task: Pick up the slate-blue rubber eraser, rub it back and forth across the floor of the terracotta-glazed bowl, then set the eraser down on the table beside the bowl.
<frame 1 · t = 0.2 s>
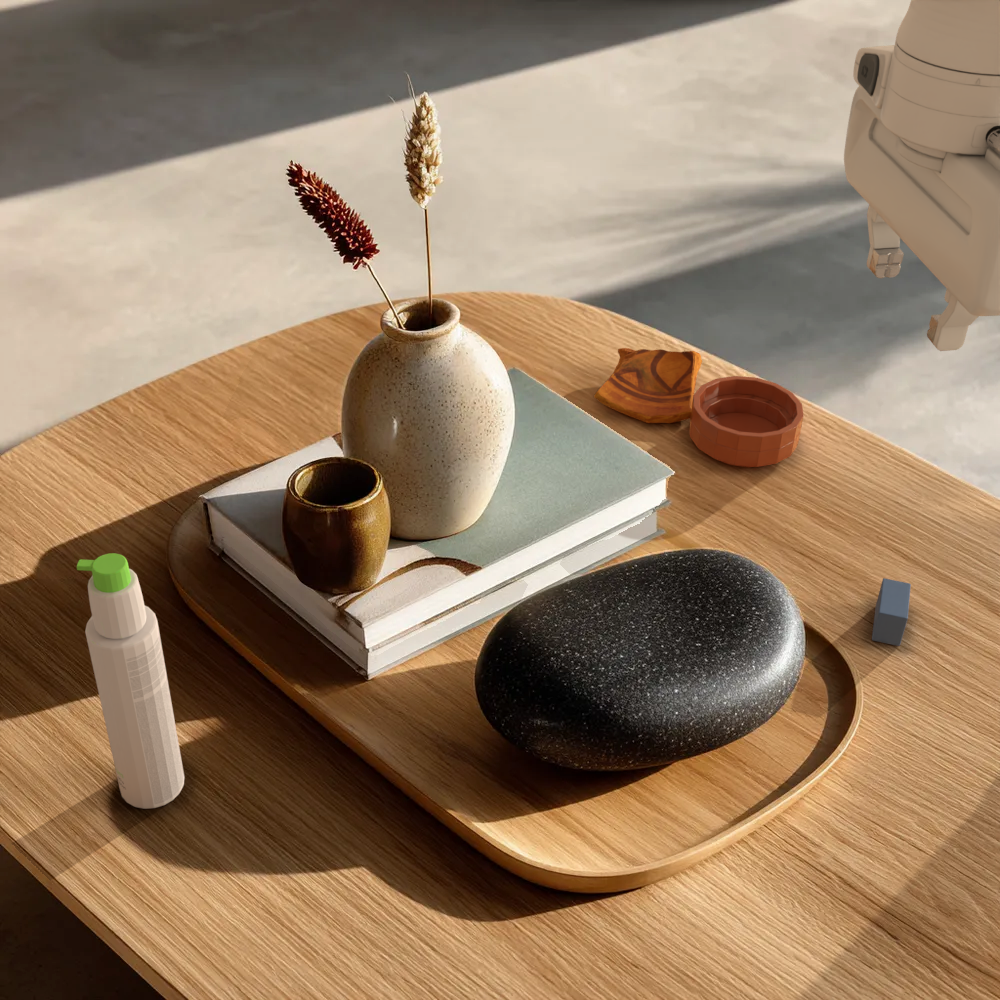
hand: (911, 307, 86), 30 cm above the table, tool pointing down, fingers open, 8 cm apart
pottery fragment: (646, 398, 133), on the table
bottle: (152, 786, 92), on the table
bowl: (742, 440, 127), on the table
eraser: (887, 625, 107), on the table
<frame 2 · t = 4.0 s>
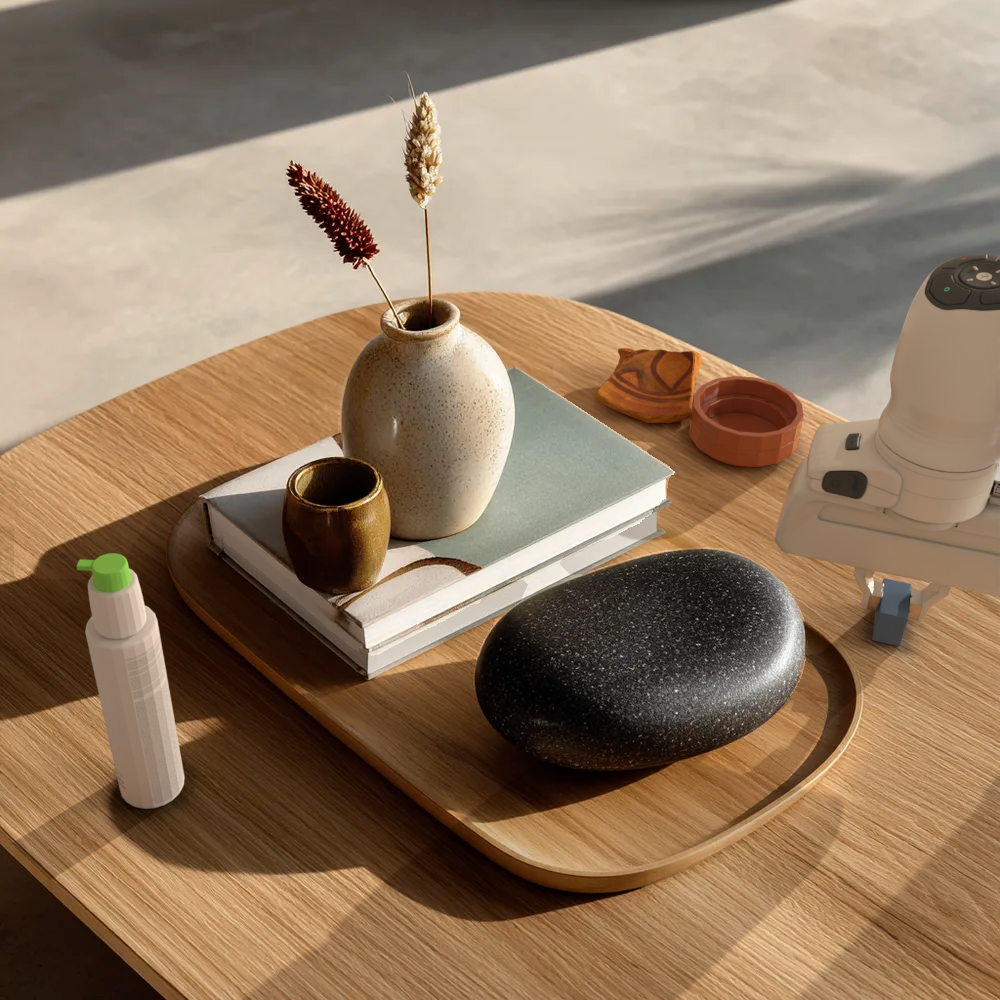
hand: (891, 609, 106), 2 cm above the table, tool pointing down, fingers closed on eraser, 2 cm apart
eraser: (887, 625, 107), on the table, touching gripper
everything else where it was.
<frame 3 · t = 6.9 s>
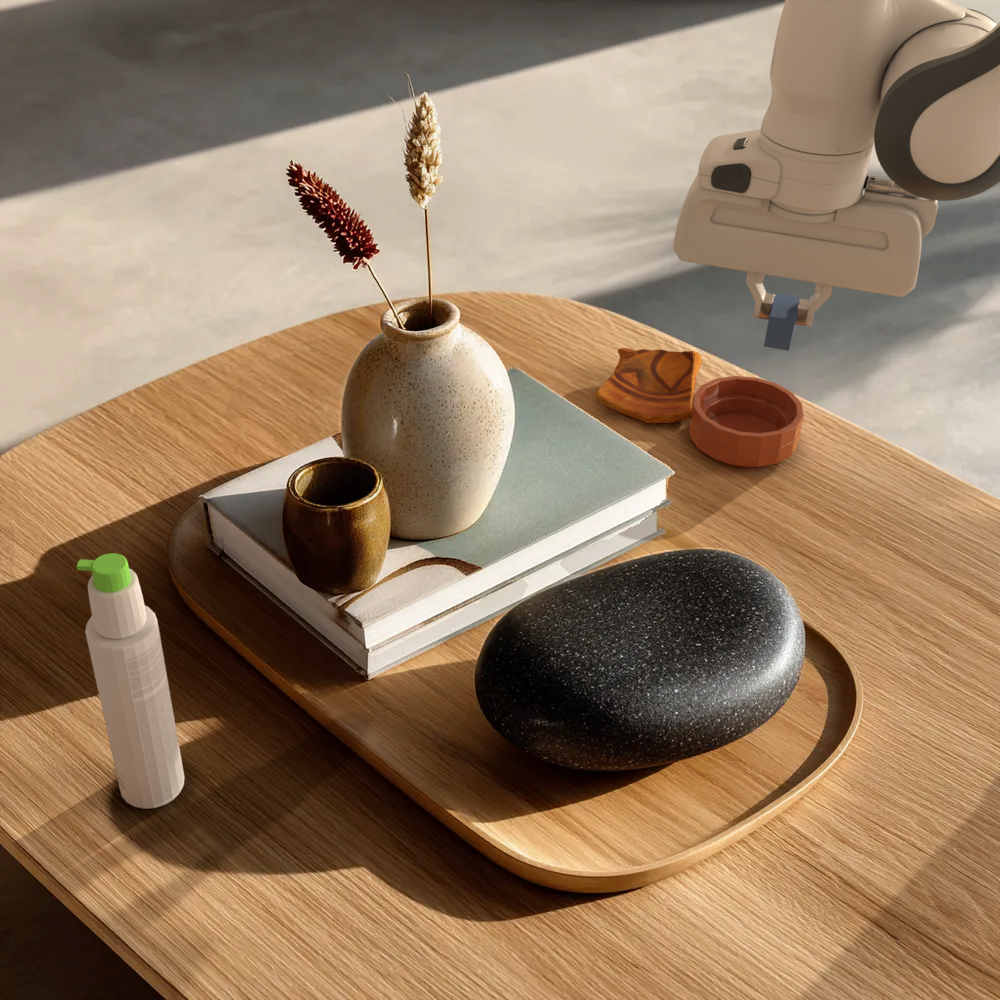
hand: (782, 319, 115), 15 cm above the table, tool pointing down, fingers closed on eraser, 2 cm apart
eraser: (779, 336, 116), point 14 cm above the table, touching gripper
everything else where it was.
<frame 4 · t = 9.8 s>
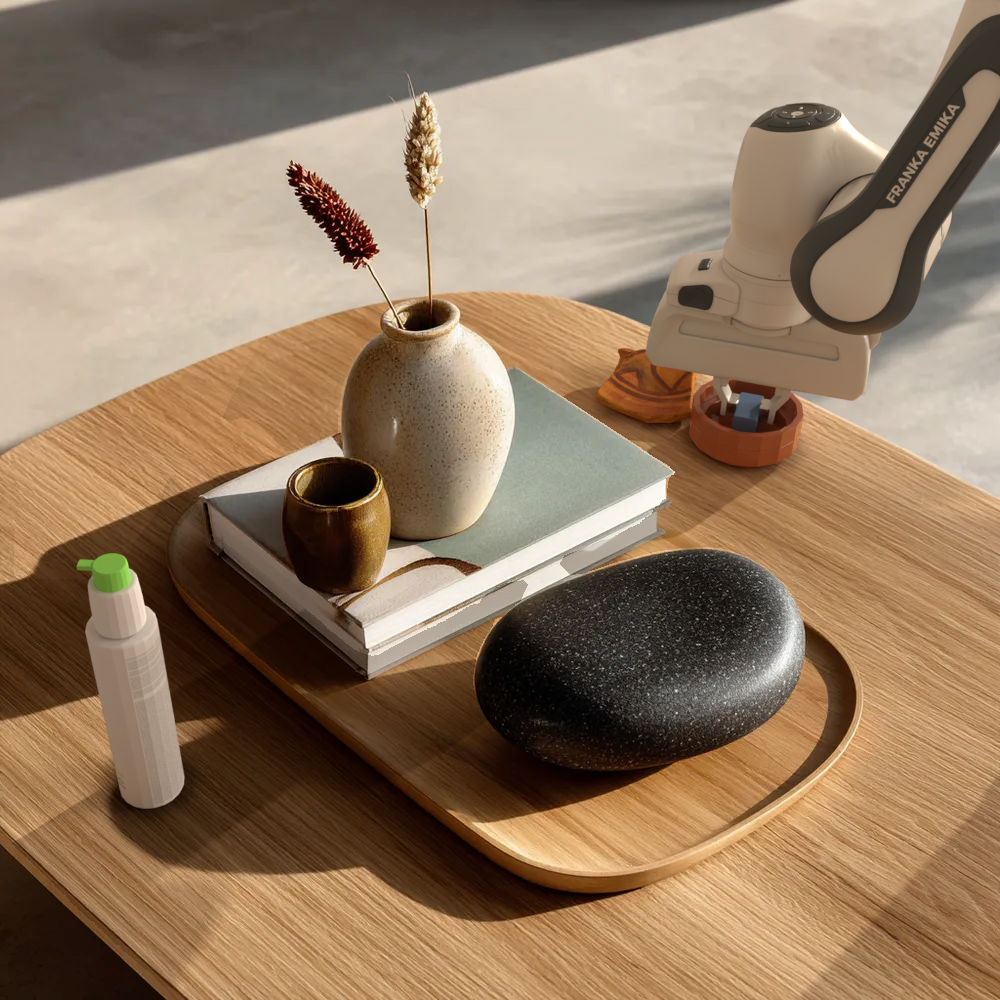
hand: (746, 416, 126), 2 cm above the table, tool pointing down, fingers closed on eraser, 2 cm apart
eraser: (744, 431, 127), point 1 cm above the table, touching gripper
everything else where it was.
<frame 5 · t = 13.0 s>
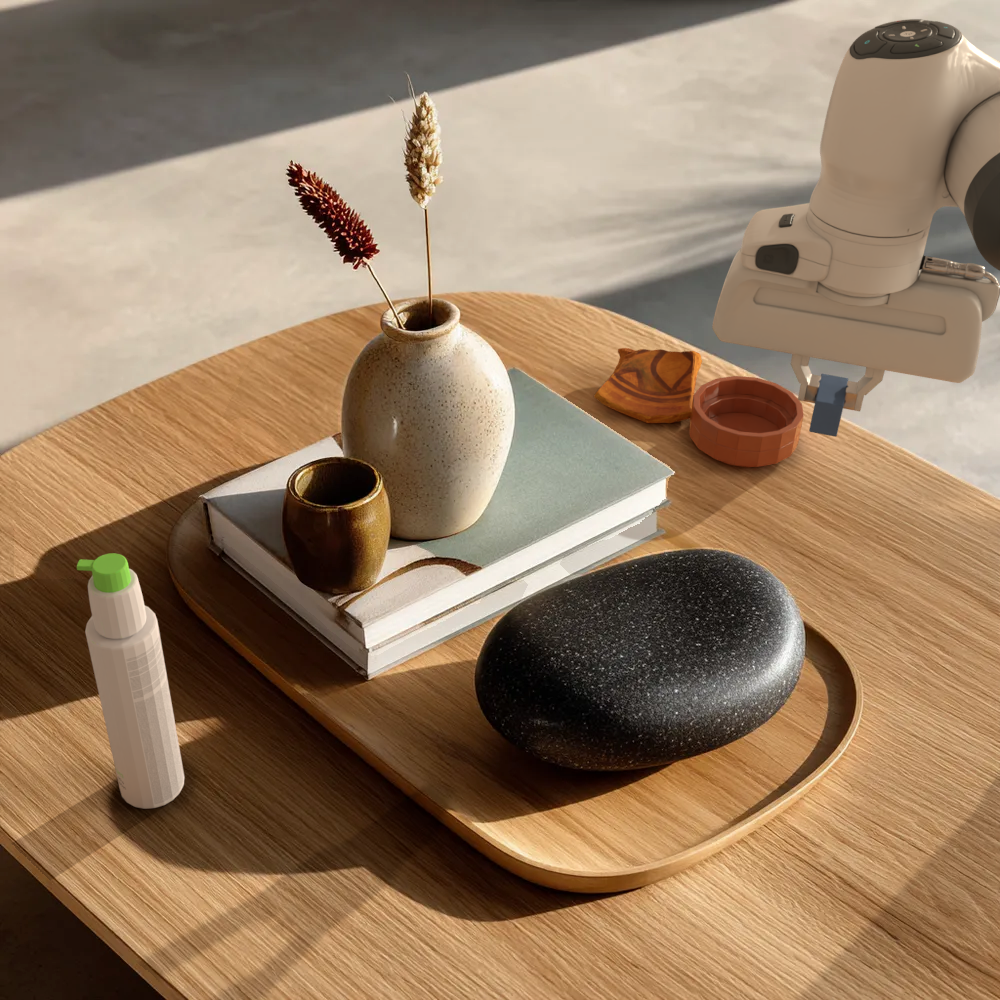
hand: (829, 402, 108), 14 cm above the table, tool pointing down, fingers closed on eraser, 2 cm apart
eraser: (825, 420, 109), point 12 cm above the table, touching gripper
everything else where it was.
when the fingers open (2 cm above the table, at t = 15.9 s): eraser stays where it is, on the table.
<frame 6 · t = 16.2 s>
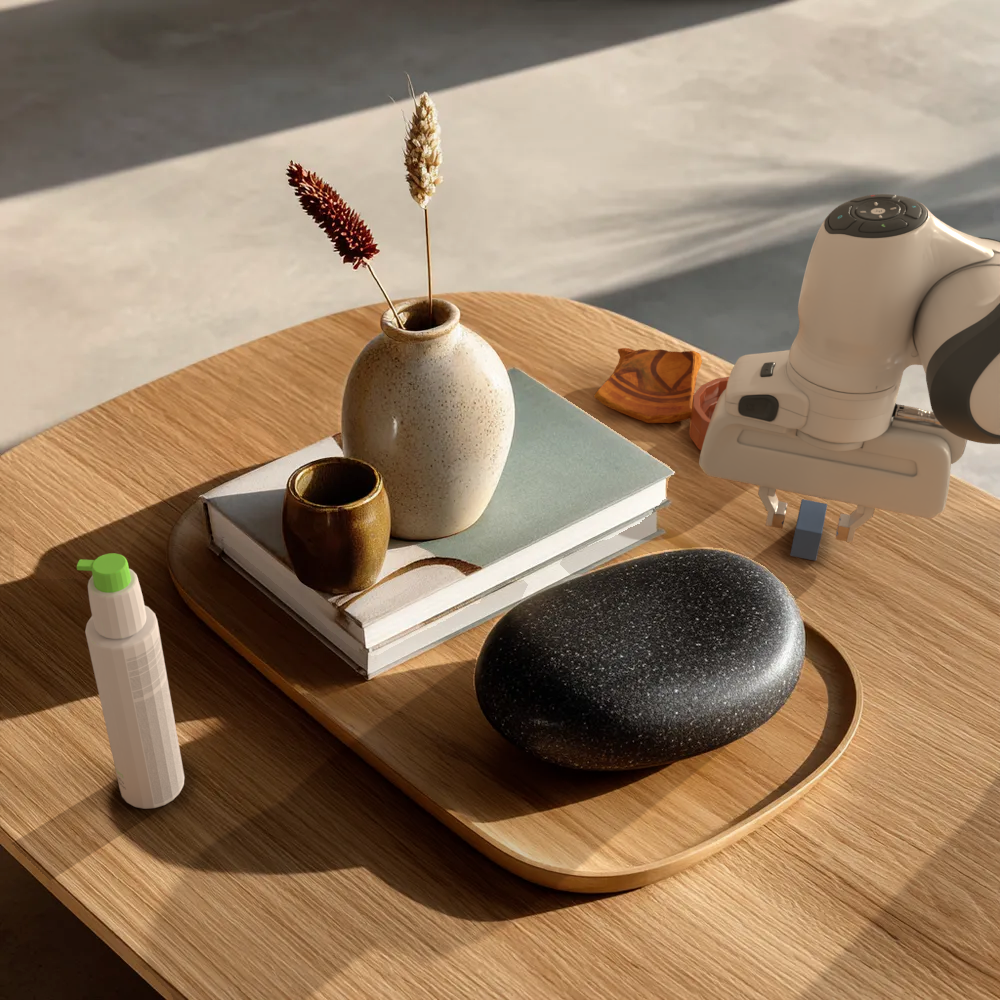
hand: (809, 530, 114), 1 cm above the table, tool pointing down, fingers open, 4 cm apart
eraser: (805, 543, 115), on the table
everything else where it was.
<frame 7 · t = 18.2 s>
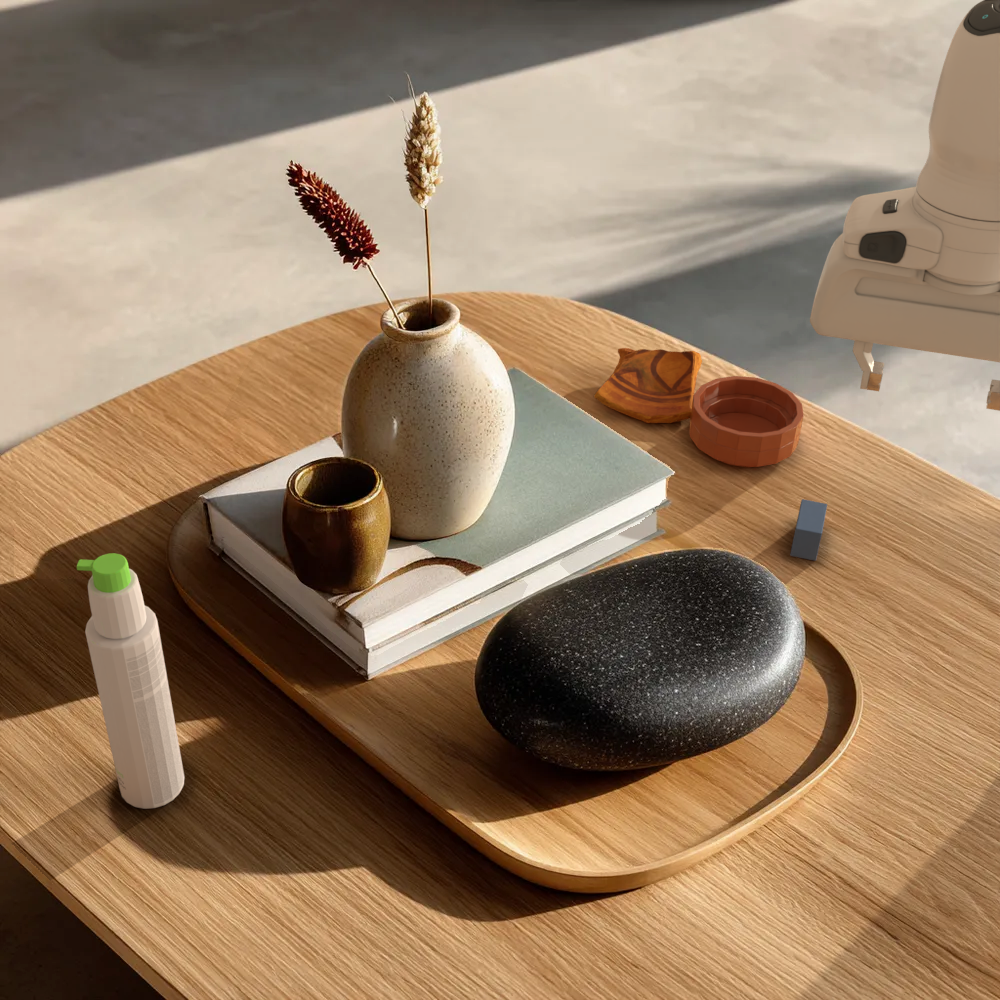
hand: (932, 396, 103), 17 cm above the table, tool pointing down, fingers open, 8 cm apart
nothing on the table moved.
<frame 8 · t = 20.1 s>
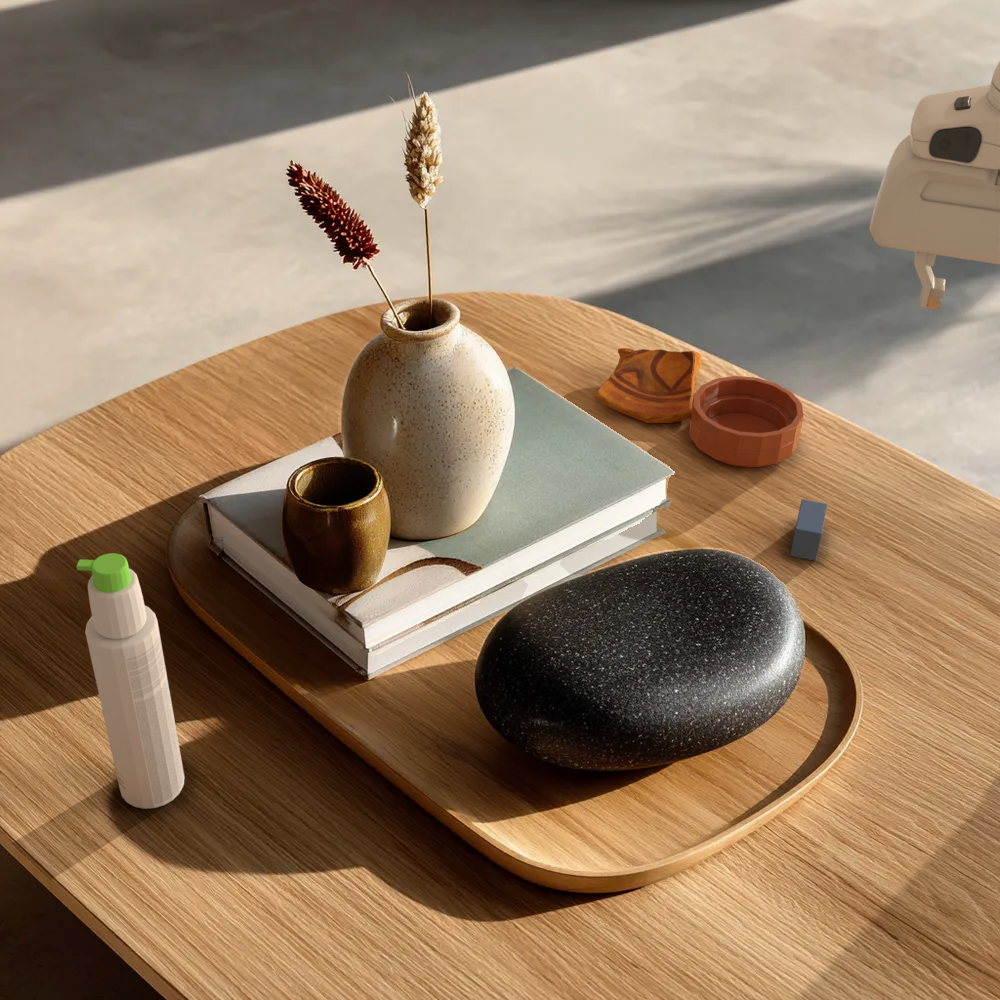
hand: (996, 315, 97), 25 cm above the table, tool pointing down, fingers open, 8 cm apart
nothing on the table moved.
at the end: eraser 0.2 cm from the target spot on the table beside the bowl, on the table; eraser tilted 0°; the gripper is holding nothing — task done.
